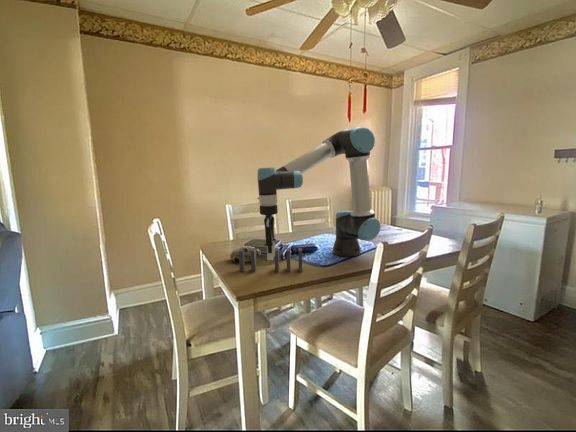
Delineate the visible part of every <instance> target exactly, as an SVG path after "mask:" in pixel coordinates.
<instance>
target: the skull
mask: <svg viewBox="0 0 576 432" xmlns="http://www.w3.org/2000/svg"><path fill="white" fill-rule="evenodd" d="M241 248H244V254H245V264H246V263H251V250H252V248H256V259H258V258H259V257H260V256H261V254H262V252H261V250H260V249H258V248H257V247H254V246H249V245H245V246H240V247H237V248H235V249H233V250H232V251H231V253H230V254H229V258H230V260H231V261H233V262H234V263H236V264H239V250H240V249H241Z"/></svg>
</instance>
